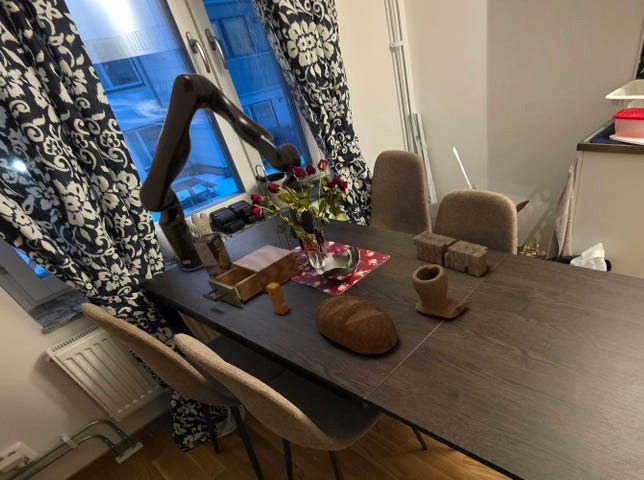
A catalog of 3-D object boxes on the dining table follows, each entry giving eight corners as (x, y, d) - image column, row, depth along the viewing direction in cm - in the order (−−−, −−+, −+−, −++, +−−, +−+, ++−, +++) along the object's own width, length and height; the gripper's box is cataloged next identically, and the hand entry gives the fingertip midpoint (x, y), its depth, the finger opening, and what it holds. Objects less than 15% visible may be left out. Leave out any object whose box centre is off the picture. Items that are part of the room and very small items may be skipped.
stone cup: (408, 316, 120) (402, 273, 110) (426, 297, 127) (423, 255, 117) (452, 328, 114) (450, 283, 104) (469, 307, 121) (468, 263, 111)
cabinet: (266, 293, 139) (258, 271, 133) (241, 284, 146) (232, 263, 140) (300, 272, 148) (293, 251, 143) (274, 265, 155) (267, 244, 150)
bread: (373, 367, 104) (365, 334, 96) (305, 331, 119) (294, 300, 112) (410, 337, 112) (406, 304, 105) (342, 307, 127) (334, 276, 120)
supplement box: (289, 309, 129) (280, 283, 123) (283, 315, 127) (272, 288, 121) (282, 307, 131) (272, 281, 124) (275, 313, 128) (264, 287, 122)
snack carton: (309, 266, 152) (300, 234, 143) (315, 263, 153) (306, 231, 145) (319, 269, 149) (310, 237, 140) (325, 265, 151) (316, 233, 142)
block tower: (490, 270, 138) (426, 249, 153) (491, 248, 133) (425, 228, 148) (477, 279, 134) (414, 257, 149) (478, 257, 128) (412, 236, 143)
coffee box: (228, 282, 148) (209, 242, 137) (212, 283, 148) (192, 244, 138) (236, 270, 155) (219, 231, 144) (221, 271, 155) (203, 233, 145)
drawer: (226, 314, 129) (217, 297, 124) (203, 304, 135) (193, 287, 131) (273, 285, 141) (266, 268, 136) (250, 277, 147) (243, 261, 143)
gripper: (321, 207, 135) (332, 250, 146) (293, 202, 142) (306, 244, 152) (306, 215, 131) (318, 259, 141) (278, 210, 137) (292, 252, 148)
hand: (312, 251), depth 147 cm, fingers open, 8 cm apart
